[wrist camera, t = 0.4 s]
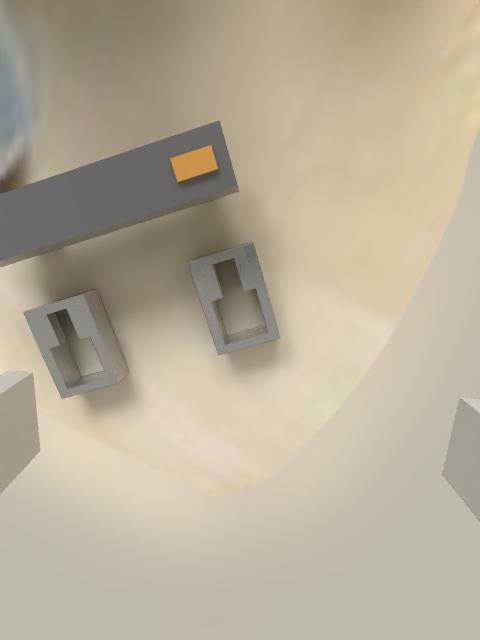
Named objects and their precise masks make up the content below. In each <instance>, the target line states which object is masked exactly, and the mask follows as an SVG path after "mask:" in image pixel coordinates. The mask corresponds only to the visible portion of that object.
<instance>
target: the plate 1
mask: <svg viewBox="0 0 480 640" xmlns="http://www.w3.org/2000/svg"><path fill="white" fill-rule="evenodd" d="M63 309H67V311H68V313H69V316H70V318H71V321H72V323H73V325H74V328H75V330H76V333H77V335H78V337H79V340H80V339H84V338H87V337H91V339H92V342H93V344H94V347H95V349H96V351H97V354H98V356H99V359H100V361H101V364H102V366H103V368H104V371H101V372H97V373H94V374H90V375H86V376H83V377H81V376H80V373H79V371H78V369H77V366H76V364H75V362H74V359H73V357H72V355H71V352H70V350H69V348H68V345H67V343H66V341H67V339H66V337H65V335H64V332H63V330H62V328H61V325H60V323H59V321H58V318H57V316H56V314H55V312H57V311H60V310H63ZM23 313H24V315H25V318H26V320H27V322H28V324H29V327H30V329H31V331H32V333H33V335H34V338H35V340H36V342H37V344H38V347H39V349H40V351H41V353H42V356H43V358H44V360H45V362H46V364H47V367H48V369H49V371H50V373H51V376H52V378H53V380H54V382H55V384H56V387H57V389H58V391H59V393H60V396H61V398H62V399H63V398H67V397H70V396H74V395H78V394H81V393H85V392H88V391H92V390H96V389H99V388H103V387H106V386H110V385H114V384H117V383H120V381H121V380H122V379H123V378H124V377H125V375H126V374H127V373H128V372H129V370H128V367H127V365H126V362H125V360H124V357H123V354H122V352H121V349H120V347H119V344H118V342H117V339H116V337H115V334H114V332H113V329H112V327H111V324H110V321H109V319H108V316H107V314H106V311H105V309H104V306H103V304H102V301H101V299H100V296H99V294H98V291H97V289H95V290H92V291H89V292H85V293H82V294H79V295H75V296H72V297H69V298H66V299H62V300H59V301H56V302H52V303H49V304H46V305H42V306H40V307H37V308H34V309H31V310H28V311H26V312H23Z"/></svg>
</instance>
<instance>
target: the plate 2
mask: <svg viewBox="0 0 480 640" xmlns="http://www.w3.org/2000/svg"><path fill="white" fill-rule="evenodd" d="M233 258H234V260H235V264H236V267H237V270H238V274H239V277H240V281H241V284H242V287H243V291H244V292H245V291H248V290H252V289H255V288H256V291H257V295H258V298H259V302H260V305H261V308H262V312H263V315H264V319H265V322H266V325H264V326H260V327H257V328H253V329H250V330H246V331H243V332H239V333H235V334H232V335H228V336H227V335H226V332H225V329H224V326H223V323H222V319H221V316H220V313H219V310H218V307H217V304H216V301H215V300H217V299H221V298H223V292H222V289H221V286H220V282H219V279H218V276H217V273H216V270H215V266H214V264H216V263H220V262H223V261H226V260H230V259H233ZM188 265H189V268H190V271H191V274H192V277H193V280H194V283H195V286H196V289H197V292H198V295H199V298H200V301H201V304H202V307H203V310H204V313H205V316H206V319H207V322H208V326H209V329H210V332H211V335H212V338H213V341H214V344H215V347H216V350H217V353H218V355H222V354H225V353H229V352H233V351H236V350H240V349H243V348H247V347H251V346H254V345H258V344H261V343H265V342H269V341H272V340H276V339H279V338H280V335H279V332H278V328H277V325H276V321H275V318H274V314H273V311H272V307H271V304H270V300H269V296H268V293H267V289H266V286H265V282H264V279H263V275H262V272H261V268H260V265H259V261H258V258H257V254H256V251H255V247H254V243H253V242H250V243H247V244H243V245H240V246H237V247H234V248H230V249H227V250H224V251H220V252H217V253H214V254H211V255H207V256H204V257H201V258H197V259H194V260H192V261H190V262H188Z"/></svg>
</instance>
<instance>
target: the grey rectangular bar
mask: <svg viewBox="0 0 480 640" xmlns="http://www.w3.org/2000/svg"><path fill="white" fill-rule="evenodd" d="M236 192H239V190H238V185H237V181H236V178H235V174H234V171H233V167H232V164H231V160H230V157H229V153H228V149H227V146H226V142H225V139H224V135H223V132H222V128H221V125H220V121H217V122H214V123H211V124H208V125H205V126H202V127H199V128H196V129H193V130H190V131H187V132H184V133H181V134H178V135H175V136H172V137H169V138H166V139H163V140H160V141H157V142H154V143H151V144H148V145H145V146H142V147H139V148H136V149H133V150H130V151H127V152H124V153H121V154H119V155H116V156H113V157H110V158H107V159H104V160H101V161H98V162H95V163H92V164H89V165H86V166H83V167H80V168H77V169H74V170H71V171H68V172H65V173H62V174H59V175H56V176H53V177H50V178H47V179H44V180H41V181H38V182H35V183H32V184H29V185H26V186H23V187H20V188H17V189H14V190H11V191H9V192H6V193H3V194H0V267H3V266H6V265H9V264H12V263H15V262H19V261H22V260H25V259H28V258H31V257H34V256H37V255H41V254H44V253H47V252H50V251H53V250H56V249H60V248H63V247H66V246H69V245H72V244H75V243H78V242H82V241H85V240H88V239H91V238H94V237H97V236H101V235H104V234H107V233H110V232H113V231H116V230H119V229H123V228H126V227H129V226H132V225H135V224H138V223H142V222H145V221H148V220H151V219H154V218H157V217H160V216H164V215H167V214H170V213H173V212H176V211H179V210H183V209H186V208H189V207H192V206H195V205H198V204H201V203H205V202H208V201H211V200H214V199H217V198H220V197H224V196H227V195H230V194H233V193H236Z"/></svg>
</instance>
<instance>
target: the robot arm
mask: <svg viewBox="0 0 480 640" xmlns="http://www.w3.org/2000/svg"><path fill="white" fill-rule="evenodd" d="M39 452H40V443H39V432H38V422H37V411H36V400H35V389H34V379H33V372H19V371H7V372H5V373H4V374H2V375H0V494H1V492H2V491H3V490H4V489H5V488H6V487H7V486H8V485H9V484H10V483H11V482H12V481H13V480H14V479H15V477H16V476H17V475H18V474H19V473H20V472H21V471H22V470H23V469H24V468H25V467H26V466H27V465H28V464H29V463H30V461H31V460H32V459H33V458H34V457H35V456H36V455H37V454H38V453H39ZM442 475H443V476H444V477H445V479H446V480H447V481H448V482H449V484H450V485H451V486H452V487H453V489H454V490H455V491H456V493H457V494H458V495H459V496H460V497H461V499H462V500H463V501H464V502H465V504H466V505H467V506H468V507H469V509H470V510H471V511H472V513H473V514H474V515H475V516H476V517H477V519H478V520H479V521H480V398H467V397H460V398H459V402H458V406H457V411H456V415H455V420H454V424H453V429H452V433H451V438H450V442H449V447H448V451H447V456H446V460H445V464H444V469H443V473H442Z"/></svg>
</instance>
